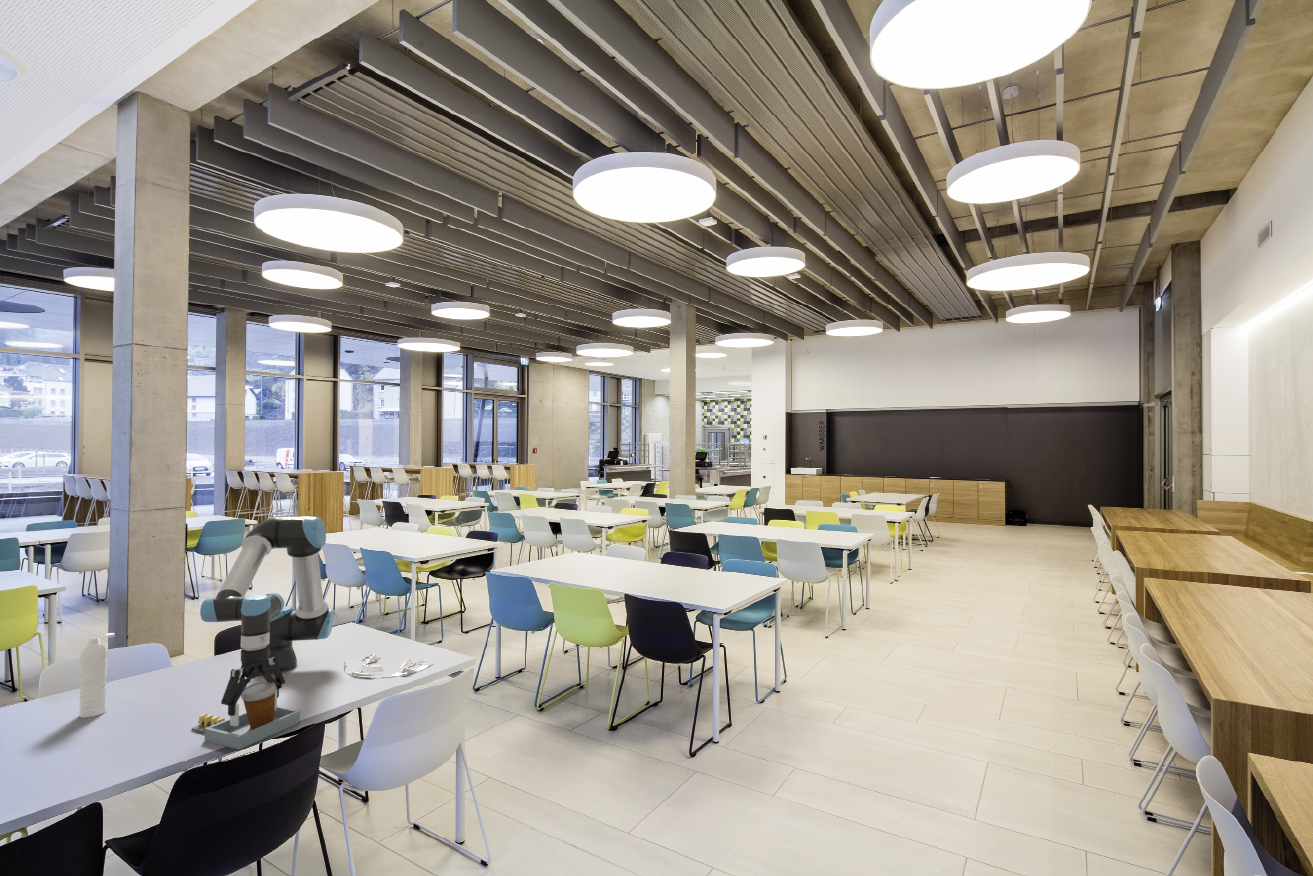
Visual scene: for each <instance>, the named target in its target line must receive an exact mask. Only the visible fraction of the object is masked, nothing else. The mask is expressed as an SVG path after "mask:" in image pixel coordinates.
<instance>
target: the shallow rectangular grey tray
mask: <svg viewBox="0 0 1313 876" xmlns="http://www.w3.org/2000/svg"><path fill="white" fill-rule="evenodd" d="M299 723H301V710H297V709H293V708H290V707H289V708H288V707H284V706H279V705H277V710H275V711H274V721H272V722H270V723H268V724H265V725H263V726H261V727H258V728H256V729H251V728H250V724H249V720H248V717H247V713H246V711H245V712H243V713H239V726H237V727H236V726H232V725H230V718H227V719H225V721H222V722H220V723H217V724H215V725H212V726H210V727H207V728H205V734H204V741H205V742H209V743H212V744H216V745H219V746H223V747H227V748H231V749H234V750H235V749H236V750H241V749H243V748H244V749H245V748H246V747H248V746H251V745H254V744H255V743H257V742H259V741H262V740H263V739H264V740H265V739H266V738H268V737H271V736H273V735H275V734H278V733H279V732H282V731H284V730H286V729H288V728H291V727H293V726H295V725H297V724H299Z"/></svg>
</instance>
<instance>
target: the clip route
mask: <svg viewBox="0 0 1313 876" xmlns="http://www.w3.org/2000/svg"><path fill="white" fill-rule="evenodd" d="M213 716H214V715H213V714H208V713H204V714H203V713H202V714H200V715H199V716H198V717H199V718H198V723H197V724H198V725H196V726H193V727H191V731H192V732H196V733H198V734H199V733H200V734H204V735H205V728H207V727H210V726H212V725H215V724H217V723H220V722H222V721H225V720H226V719H225V717H220V716H218V715H216V716H215V717H213Z"/></svg>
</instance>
